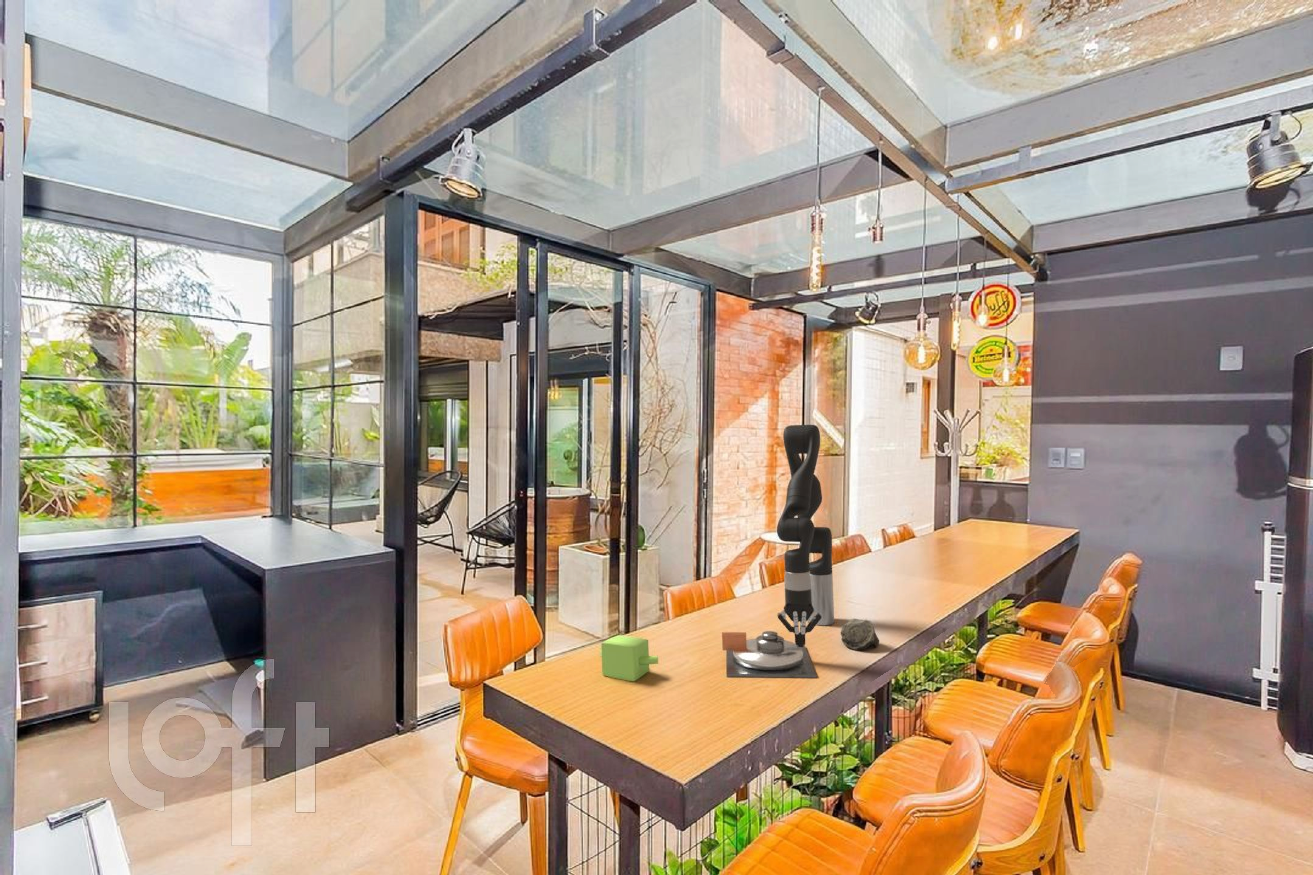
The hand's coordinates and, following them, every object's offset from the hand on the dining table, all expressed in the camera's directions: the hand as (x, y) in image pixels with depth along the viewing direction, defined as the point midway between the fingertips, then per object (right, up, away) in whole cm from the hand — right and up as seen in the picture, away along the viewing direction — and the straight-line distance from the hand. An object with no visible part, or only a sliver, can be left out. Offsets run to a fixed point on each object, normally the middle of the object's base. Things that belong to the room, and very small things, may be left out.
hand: (800, 646), depth 170 cm
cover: (-9, -1, +1) cm, 9 cm away
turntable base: (-9, -5, +1) cm, 10 cm away
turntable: (-11, -3, +1) cm, 11 cm away
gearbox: (-49, -6, -5) cm, 50 cm away
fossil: (+21, -4, +11) cm, 24 cm away
